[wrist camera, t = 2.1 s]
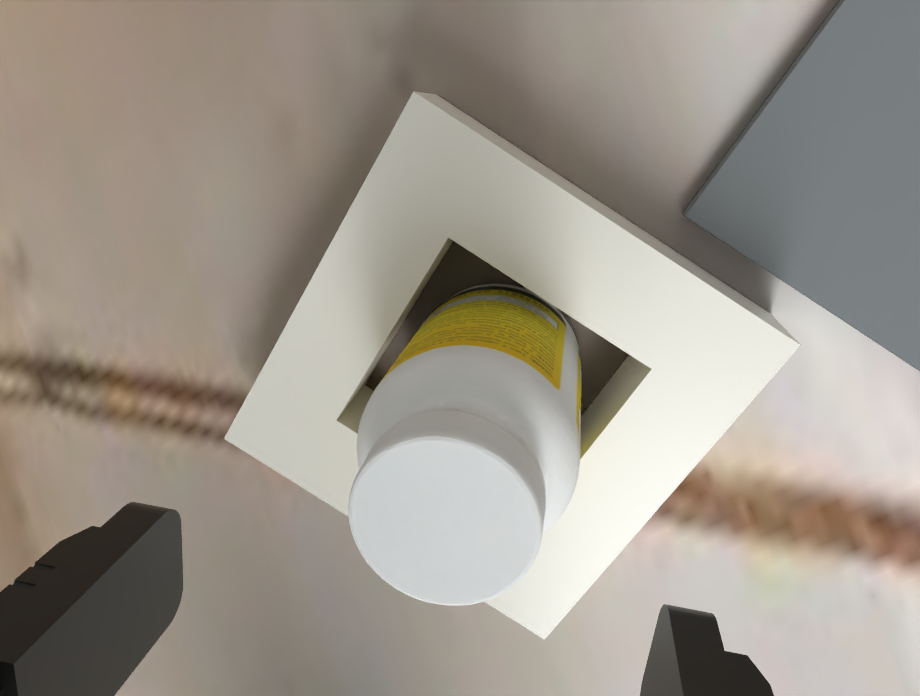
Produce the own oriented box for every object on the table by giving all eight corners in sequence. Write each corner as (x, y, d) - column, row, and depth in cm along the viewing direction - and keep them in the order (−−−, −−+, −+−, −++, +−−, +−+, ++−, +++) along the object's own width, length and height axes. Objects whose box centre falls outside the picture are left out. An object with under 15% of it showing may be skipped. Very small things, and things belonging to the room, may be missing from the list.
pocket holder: (548, 581, 26) (544, 639, 23) (263, 402, 25) (223, 438, 22) (771, 314, 21) (800, 344, 19) (435, 94, 21) (413, 91, 18)
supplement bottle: (389, 317, 23) (266, 449, 14) (542, 253, 22) (515, 354, 13) (457, 457, 25) (385, 661, 16) (606, 405, 23) (624, 597, 14)
